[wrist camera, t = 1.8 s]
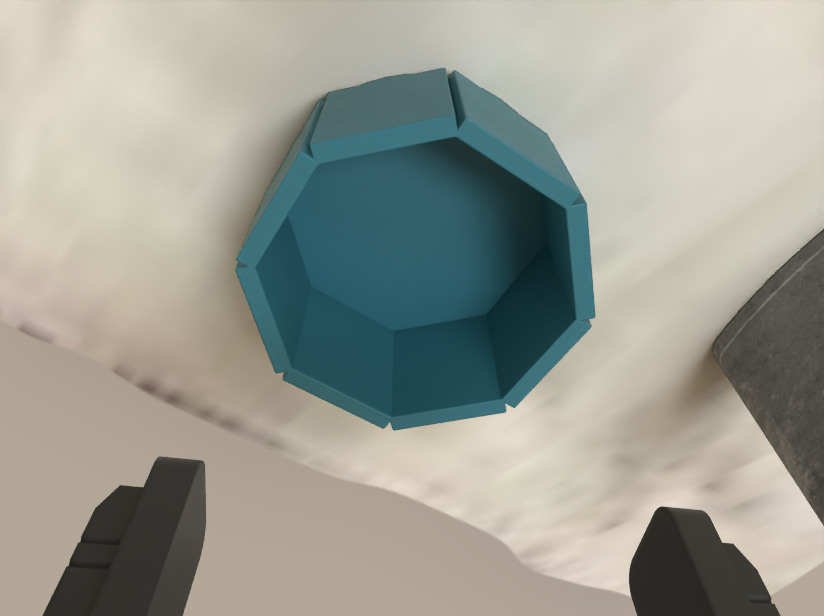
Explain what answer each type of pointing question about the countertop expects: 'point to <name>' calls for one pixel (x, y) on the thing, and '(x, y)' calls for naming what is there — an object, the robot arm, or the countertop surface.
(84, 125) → the countertop surface
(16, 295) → the countertop surface
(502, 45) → the countertop surface
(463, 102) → the teal octagonal bowl
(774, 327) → the flask
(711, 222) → the countertop surface
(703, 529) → the robot arm
